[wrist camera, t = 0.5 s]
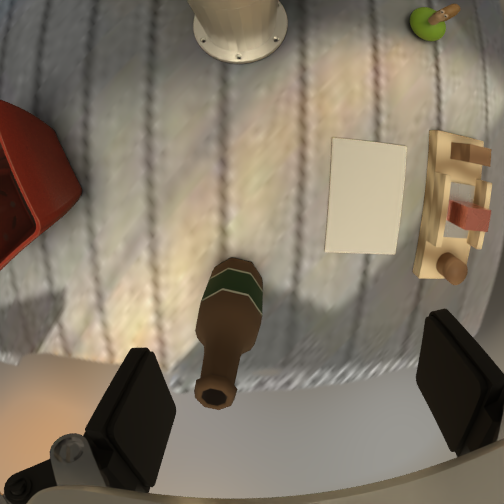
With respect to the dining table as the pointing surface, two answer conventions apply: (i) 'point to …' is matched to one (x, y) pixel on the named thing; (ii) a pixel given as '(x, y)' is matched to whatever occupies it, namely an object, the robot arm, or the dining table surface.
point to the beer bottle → (227, 328)
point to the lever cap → (464, 212)
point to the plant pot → (30, 180)
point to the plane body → (436, 205)
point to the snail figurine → (432, 21)
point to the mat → (364, 196)
